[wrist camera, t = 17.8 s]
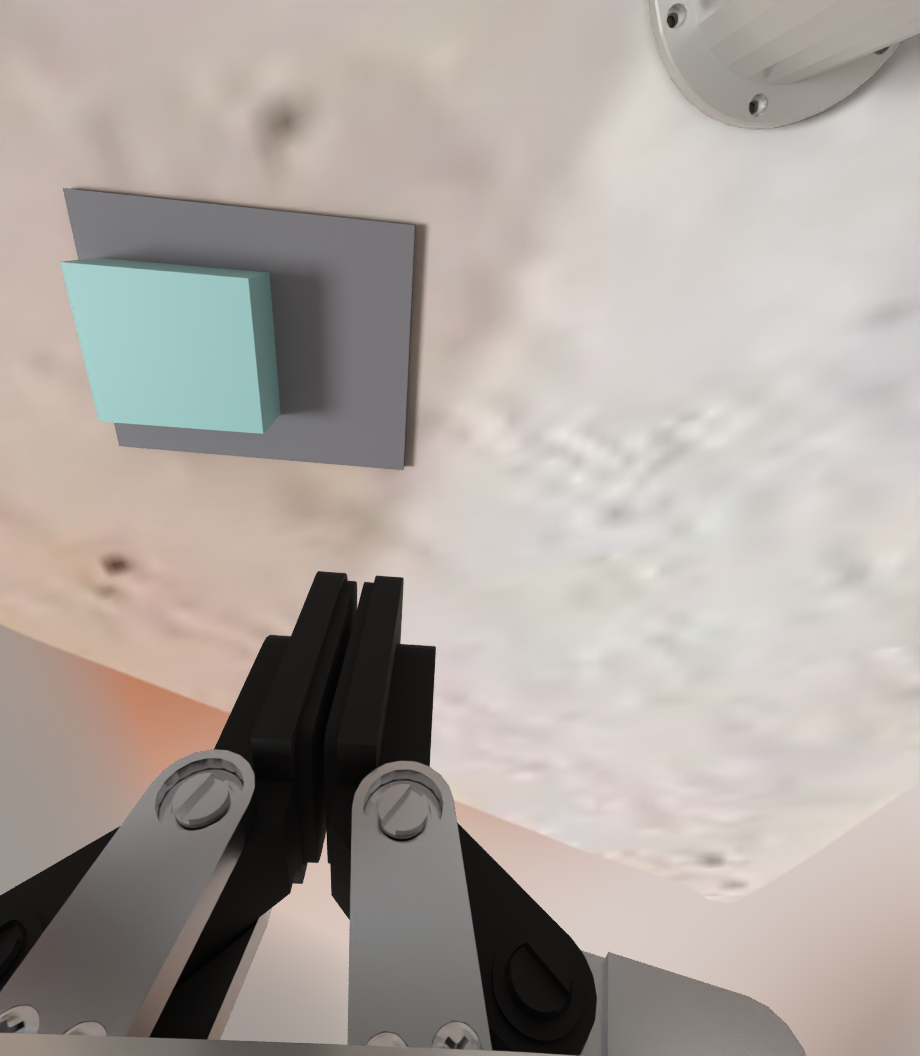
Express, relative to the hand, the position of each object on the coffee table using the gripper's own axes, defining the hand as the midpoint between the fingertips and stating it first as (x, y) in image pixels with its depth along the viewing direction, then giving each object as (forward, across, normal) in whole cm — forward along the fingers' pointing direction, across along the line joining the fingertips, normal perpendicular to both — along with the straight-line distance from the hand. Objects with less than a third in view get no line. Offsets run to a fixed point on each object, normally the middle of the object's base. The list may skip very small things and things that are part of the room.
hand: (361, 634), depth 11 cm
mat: (+25, +10, 0) cm, 27 cm away
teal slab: (+23, +9, 0) cm, 24 cm away
